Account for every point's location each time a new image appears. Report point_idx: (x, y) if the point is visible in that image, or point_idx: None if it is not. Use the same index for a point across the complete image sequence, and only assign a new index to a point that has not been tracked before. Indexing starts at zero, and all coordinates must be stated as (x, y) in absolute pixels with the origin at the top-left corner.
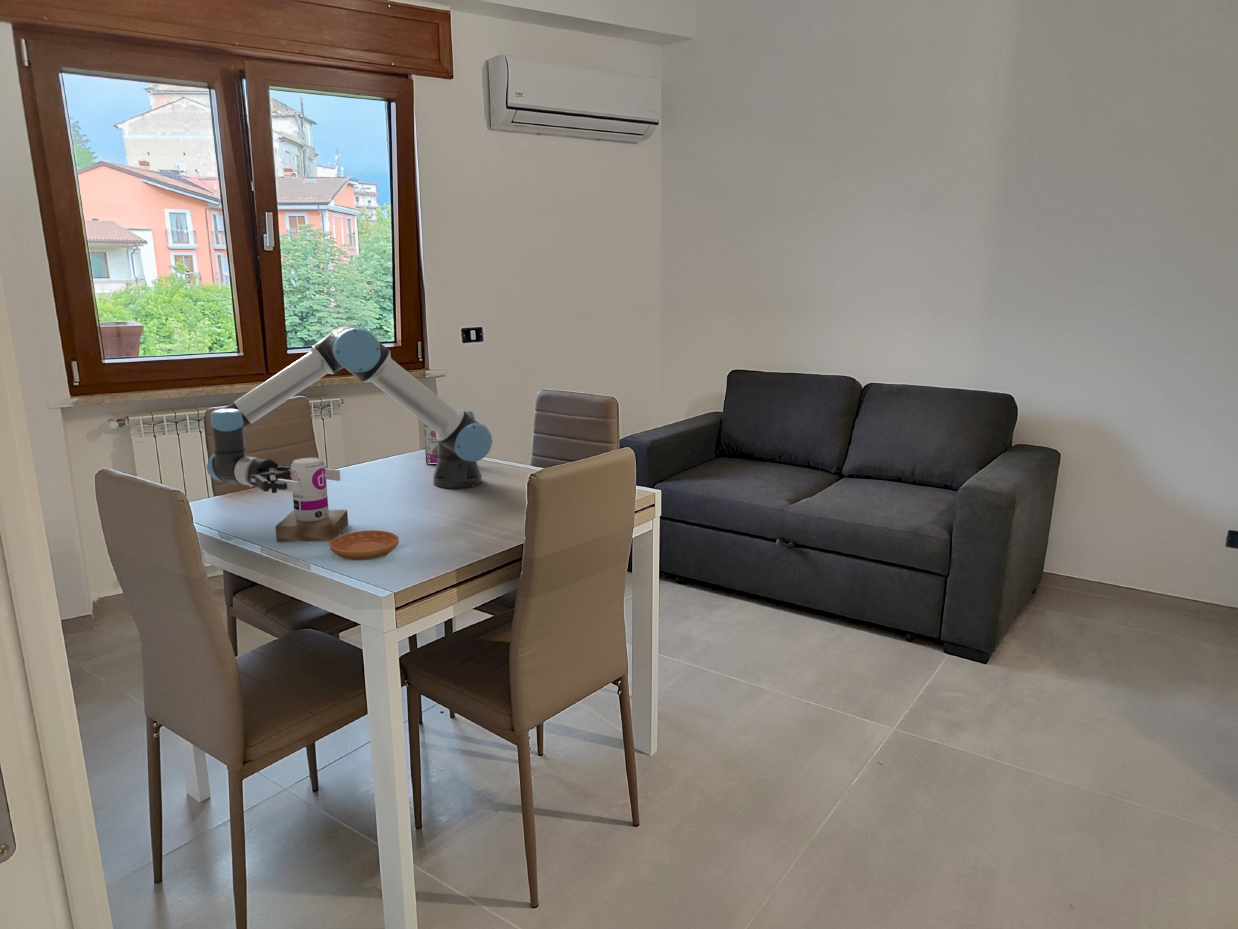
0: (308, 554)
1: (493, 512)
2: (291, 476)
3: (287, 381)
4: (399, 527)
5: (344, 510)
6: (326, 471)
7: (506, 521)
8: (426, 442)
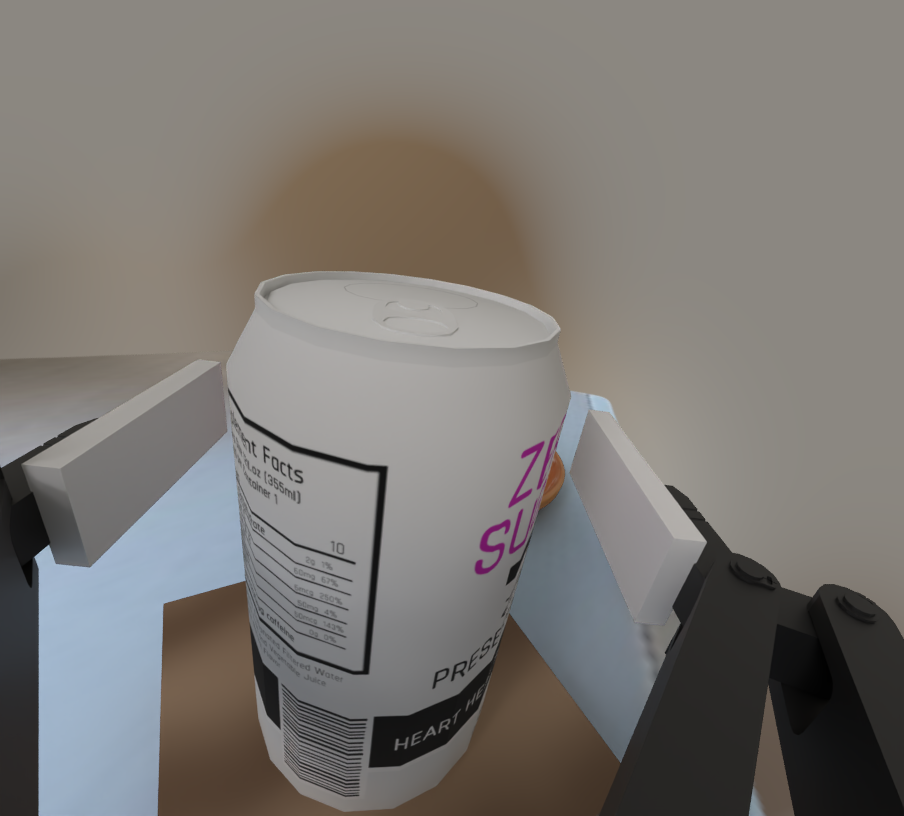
0: (586, 570)
1: (67, 377)
2: (538, 494)
3: None
4: (228, 483)
5: (179, 609)
6: (150, 432)
7: (171, 359)
8: None
